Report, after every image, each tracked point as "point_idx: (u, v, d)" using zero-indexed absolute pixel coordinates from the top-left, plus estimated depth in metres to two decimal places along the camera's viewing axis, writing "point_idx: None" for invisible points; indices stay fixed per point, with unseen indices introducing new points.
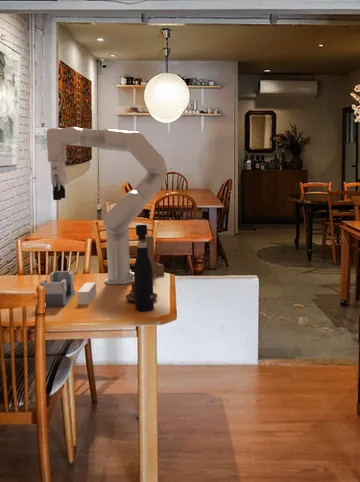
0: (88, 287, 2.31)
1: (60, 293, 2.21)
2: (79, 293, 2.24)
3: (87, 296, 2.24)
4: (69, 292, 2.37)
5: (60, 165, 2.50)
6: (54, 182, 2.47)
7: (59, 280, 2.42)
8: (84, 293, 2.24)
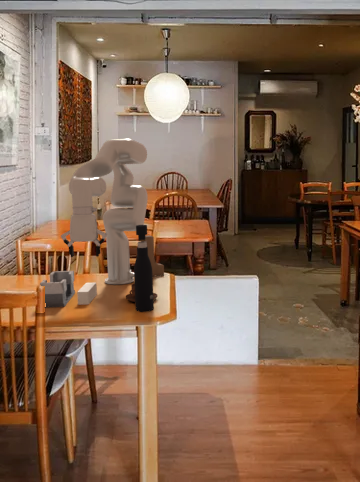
0: (88, 287, 2.31)
1: (60, 293, 2.21)
2: (78, 293, 2.24)
3: (86, 296, 2.24)
4: (69, 292, 2.37)
5: None
6: (106, 236, 2.29)
7: (59, 280, 2.42)
8: (83, 293, 2.24)
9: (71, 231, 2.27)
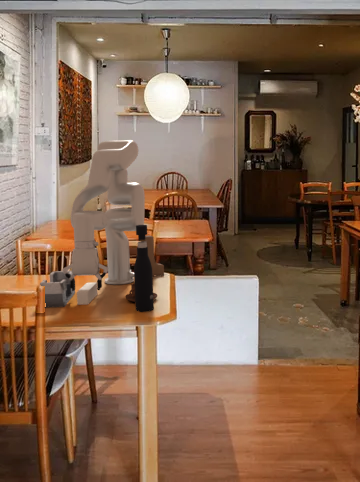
0: (88, 287, 2.31)
1: (60, 293, 2.21)
2: (78, 293, 2.24)
3: (86, 296, 2.24)
4: (69, 292, 2.37)
5: None
6: (107, 270, 2.30)
7: (59, 280, 2.42)
8: (83, 293, 2.24)
9: (73, 265, 2.28)
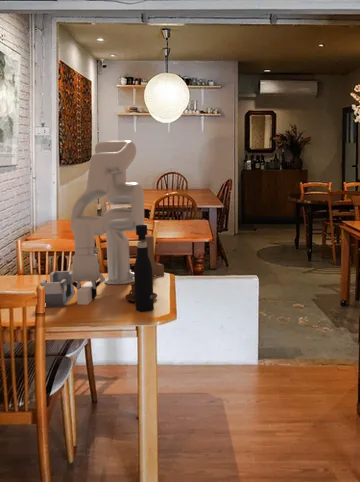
0: (88, 286, 2.31)
1: (60, 293, 2.21)
2: (78, 292, 2.24)
3: (86, 296, 2.24)
4: (69, 292, 2.37)
5: None
6: None
7: (59, 280, 2.42)
8: (83, 292, 2.24)
9: (73, 271, 2.29)
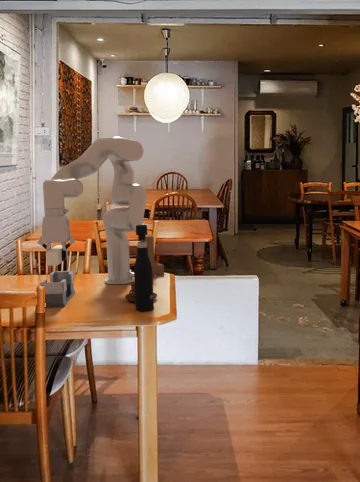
0: (58, 248, 2.29)
1: (60, 293, 2.21)
2: (47, 253, 2.22)
3: (55, 256, 2.22)
4: (69, 292, 2.37)
5: None
6: None
7: (59, 280, 2.42)
8: (52, 253, 2.22)
9: (43, 233, 2.27)
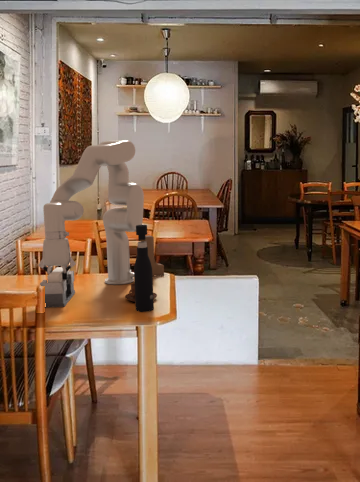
0: (58, 271, 2.30)
1: (60, 293, 2.21)
2: (49, 277, 2.23)
3: (57, 280, 2.23)
4: (69, 292, 2.37)
5: None
6: None
7: None
8: (54, 277, 2.23)
9: (44, 255, 2.28)
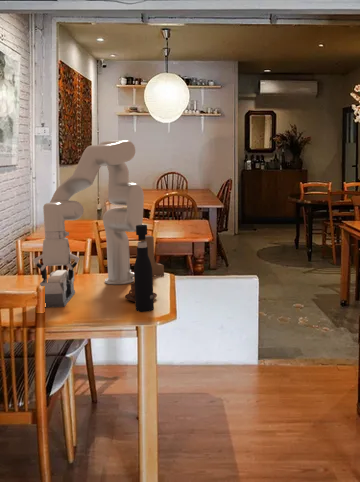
0: (59, 274, 2.31)
1: (60, 293, 2.21)
2: (49, 280, 2.24)
3: None
4: (69, 292, 2.37)
5: None
6: (78, 260, 2.30)
7: None
8: (54, 280, 2.24)
9: (43, 255, 2.28)
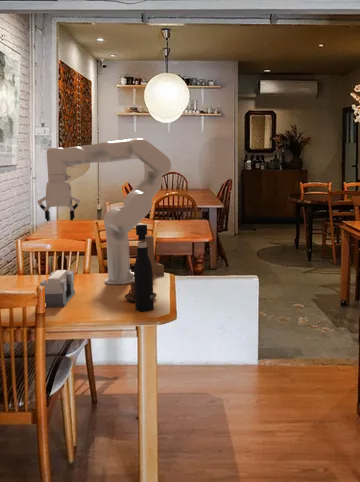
0: (59, 274, 2.31)
1: (60, 293, 2.21)
2: (49, 280, 2.24)
3: None
4: (69, 292, 2.37)
5: None
6: (79, 201, 2.47)
7: None
8: (54, 280, 2.24)
9: (47, 197, 2.45)
